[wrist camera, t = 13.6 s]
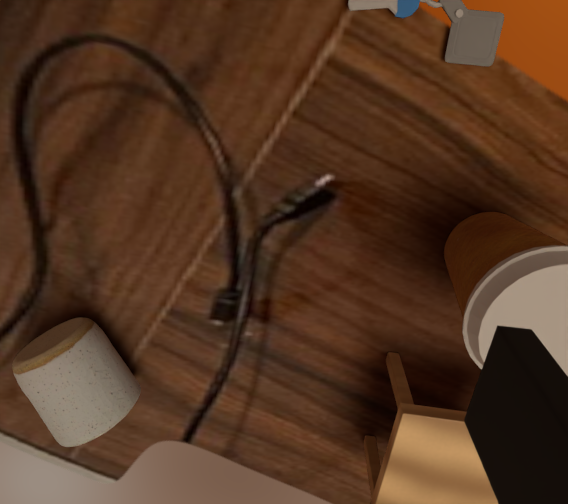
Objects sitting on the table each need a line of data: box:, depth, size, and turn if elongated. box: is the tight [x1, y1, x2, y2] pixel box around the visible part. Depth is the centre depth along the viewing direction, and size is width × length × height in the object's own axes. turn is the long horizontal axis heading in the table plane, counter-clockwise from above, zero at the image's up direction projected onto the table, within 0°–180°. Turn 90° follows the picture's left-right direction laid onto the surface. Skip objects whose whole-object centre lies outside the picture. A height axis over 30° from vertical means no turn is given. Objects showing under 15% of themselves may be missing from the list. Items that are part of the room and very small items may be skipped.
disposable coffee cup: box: [444, 212, 568, 376], centre depth 33 cm, size 10×10×12 cm
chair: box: [363, 352, 498, 504], centre depth 37 cm, size 11×11×18 cm
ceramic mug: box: [12, 317, 140, 447], centre depth 41 cm, size 11×8×8 cm
